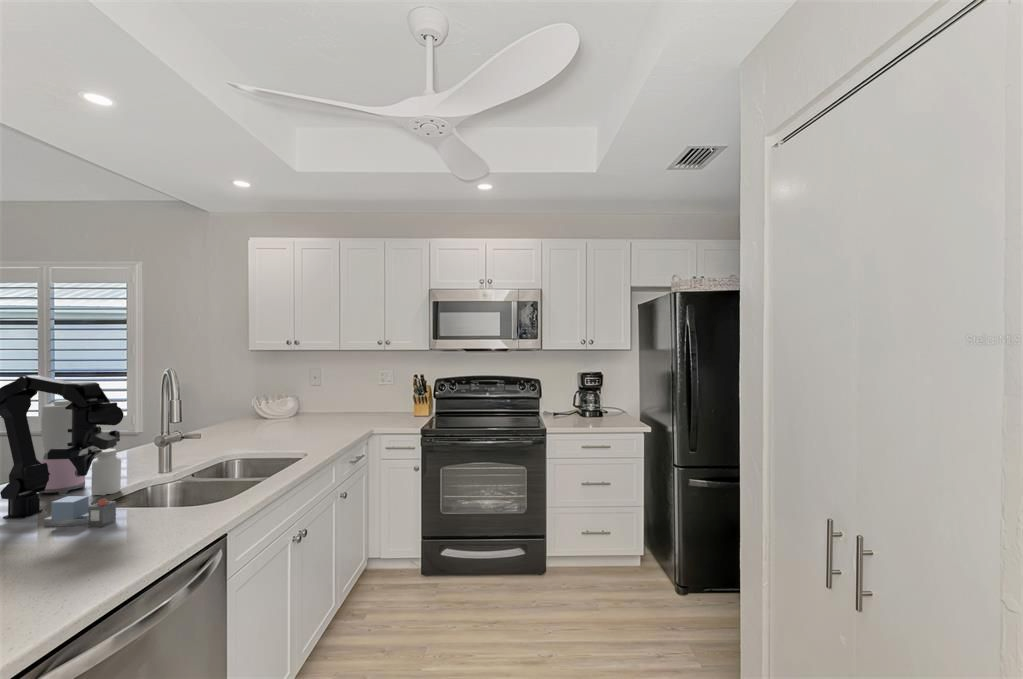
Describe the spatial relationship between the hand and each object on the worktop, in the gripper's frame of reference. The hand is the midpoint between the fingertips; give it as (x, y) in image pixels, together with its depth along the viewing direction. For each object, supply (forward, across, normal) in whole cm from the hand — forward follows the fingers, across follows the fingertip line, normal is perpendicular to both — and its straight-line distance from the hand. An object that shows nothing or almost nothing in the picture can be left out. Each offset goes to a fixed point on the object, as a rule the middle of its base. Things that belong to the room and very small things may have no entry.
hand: (83, 475), depth 148 cm
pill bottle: (+13, +25, +12) cm, 31 cm away
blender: (+13, +27, +27) cm, 40 cm away
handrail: (+13, -4, 0) cm, 14 cm away
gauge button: (+11, -5, -9) cm, 15 cm away
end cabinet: (+13, -4, -9) cm, 16 cm away
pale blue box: (+11, -4, 0) cm, 12 cm away
